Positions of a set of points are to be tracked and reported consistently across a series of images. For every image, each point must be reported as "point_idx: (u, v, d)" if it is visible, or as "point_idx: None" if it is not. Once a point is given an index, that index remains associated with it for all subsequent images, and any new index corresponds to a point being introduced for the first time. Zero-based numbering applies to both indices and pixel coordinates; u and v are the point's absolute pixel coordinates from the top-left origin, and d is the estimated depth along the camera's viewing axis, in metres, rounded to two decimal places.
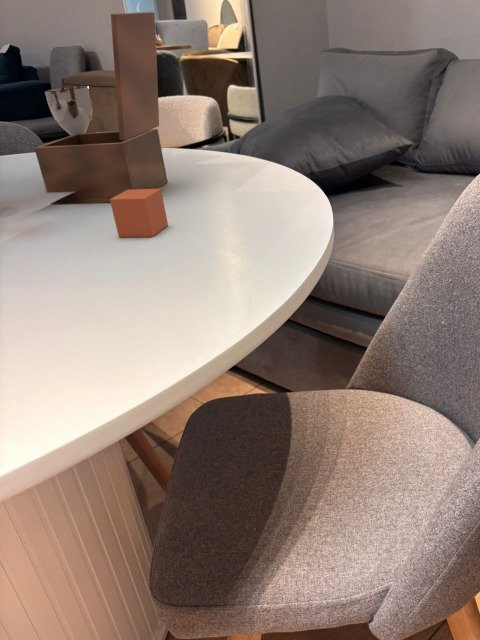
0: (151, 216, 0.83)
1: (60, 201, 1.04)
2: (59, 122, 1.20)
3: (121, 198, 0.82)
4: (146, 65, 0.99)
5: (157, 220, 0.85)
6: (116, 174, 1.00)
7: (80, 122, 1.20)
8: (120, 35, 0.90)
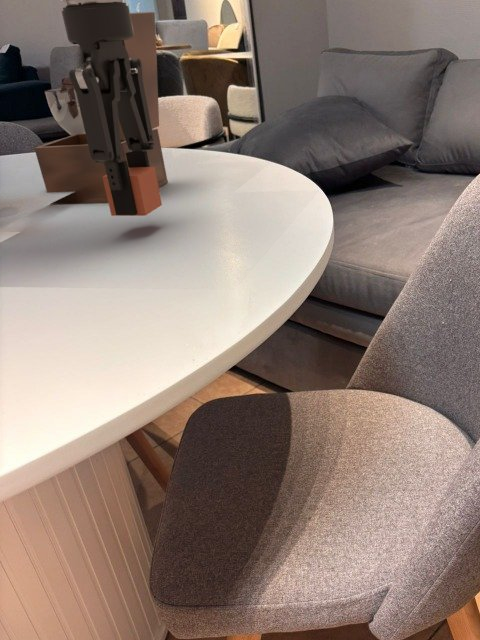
0: (144, 194, 0.82)
1: (60, 201, 1.04)
2: (59, 122, 1.20)
3: None
4: (146, 65, 0.99)
5: (151, 198, 0.83)
6: None
7: (80, 122, 1.20)
8: None
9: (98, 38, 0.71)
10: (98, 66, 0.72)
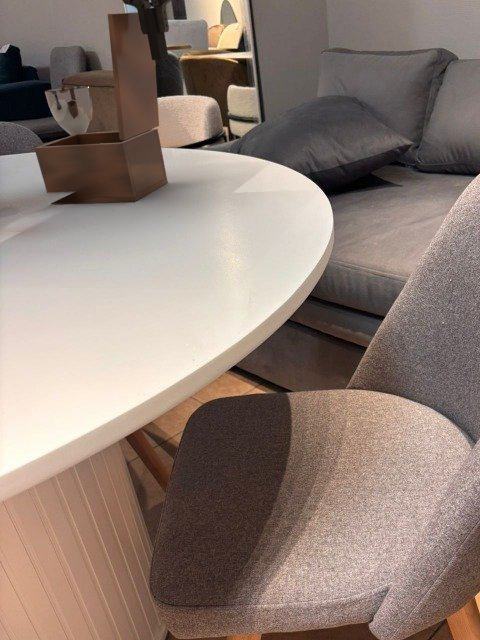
0: None
1: (60, 201, 1.04)
2: (59, 122, 1.20)
3: None
4: (145, 65, 0.99)
5: None
6: (116, 174, 1.00)
7: (80, 122, 1.20)
8: (117, 35, 0.90)
9: None
10: None
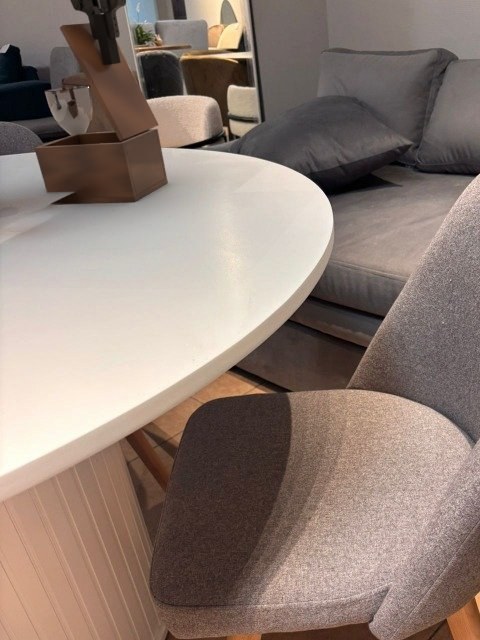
0: None
1: (60, 201, 1.04)
2: (59, 122, 1.20)
3: None
4: (119, 69, 1.00)
5: None
6: (116, 174, 1.00)
7: (80, 122, 1.20)
8: (76, 43, 0.92)
9: None
10: None
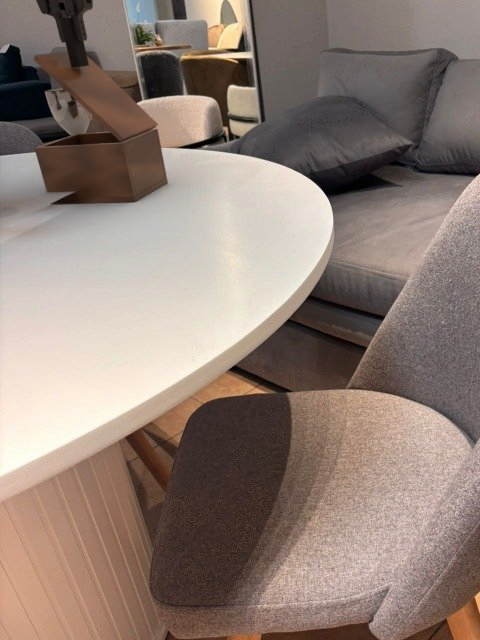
0: None
1: (60, 201, 1.04)
2: (59, 122, 1.20)
3: None
4: (103, 83, 1.02)
5: None
6: (116, 174, 1.00)
7: (80, 122, 1.20)
8: (52, 67, 0.94)
9: None
10: None
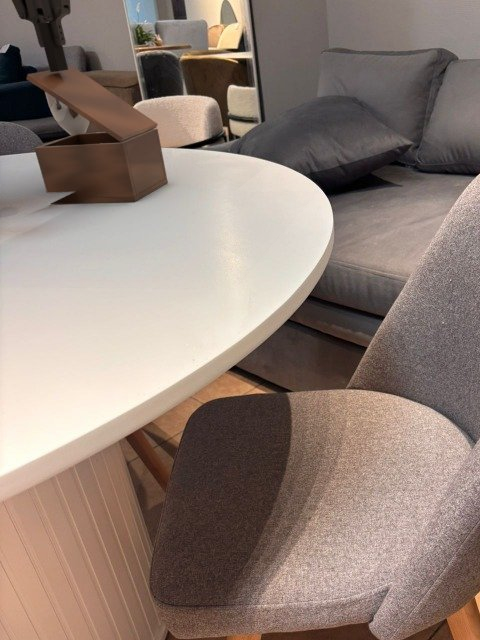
0: None
1: (60, 201, 1.04)
2: (59, 122, 1.20)
3: None
4: (98, 93, 1.03)
5: None
6: (116, 174, 1.00)
7: (80, 122, 1.20)
8: (46, 83, 0.96)
9: None
10: None
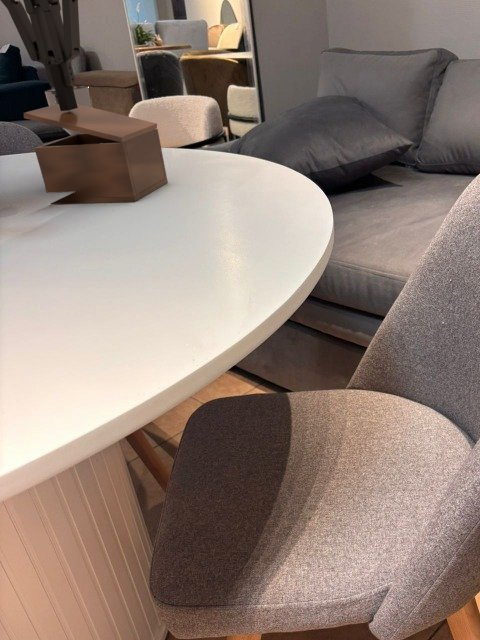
0: None
1: (60, 201, 1.04)
2: None
3: None
4: (94, 113, 1.05)
5: None
6: (116, 174, 1.00)
7: None
8: (42, 115, 0.99)
9: None
10: None
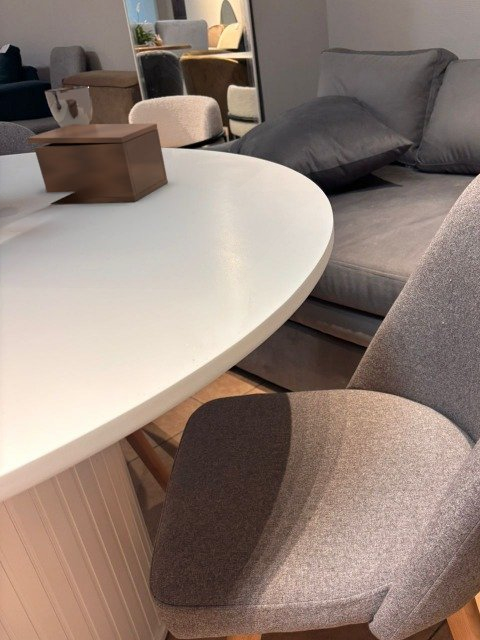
0: None
1: (60, 201, 1.04)
2: (59, 122, 1.20)
3: None
4: (95, 127, 1.06)
5: None
6: (116, 174, 1.00)
7: (80, 122, 1.20)
8: (44, 136, 1.00)
9: None
10: None
